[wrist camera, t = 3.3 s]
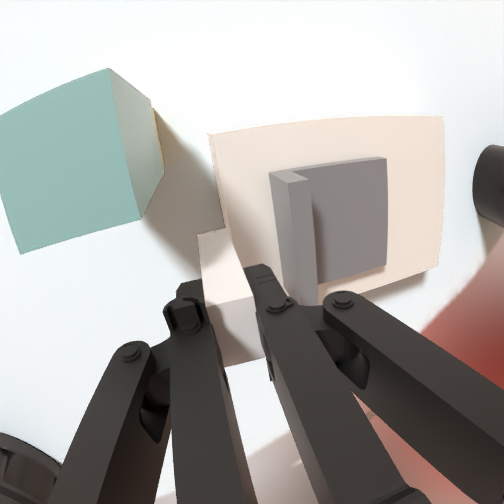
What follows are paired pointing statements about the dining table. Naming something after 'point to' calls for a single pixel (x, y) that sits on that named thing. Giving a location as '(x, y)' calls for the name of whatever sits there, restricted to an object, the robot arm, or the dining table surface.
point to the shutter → (330, 222)
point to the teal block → (78, 160)
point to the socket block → (326, 151)
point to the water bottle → (490, 184)
